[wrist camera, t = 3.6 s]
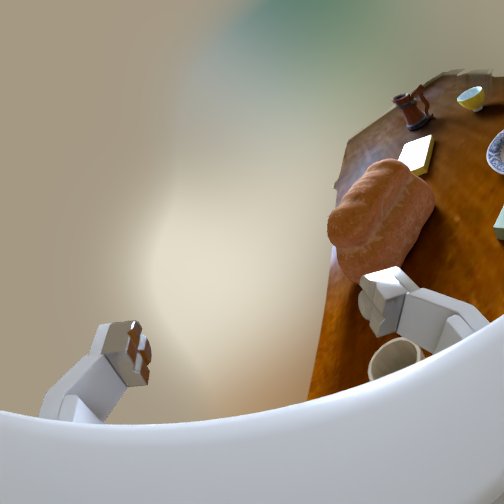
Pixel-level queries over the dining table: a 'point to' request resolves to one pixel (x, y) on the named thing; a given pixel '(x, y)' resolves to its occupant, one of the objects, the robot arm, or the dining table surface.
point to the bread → (379, 219)
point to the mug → (412, 109)
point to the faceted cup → (394, 357)
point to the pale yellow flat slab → (418, 155)
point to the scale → (500, 226)
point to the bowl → (472, 99)
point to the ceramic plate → (497, 153)
